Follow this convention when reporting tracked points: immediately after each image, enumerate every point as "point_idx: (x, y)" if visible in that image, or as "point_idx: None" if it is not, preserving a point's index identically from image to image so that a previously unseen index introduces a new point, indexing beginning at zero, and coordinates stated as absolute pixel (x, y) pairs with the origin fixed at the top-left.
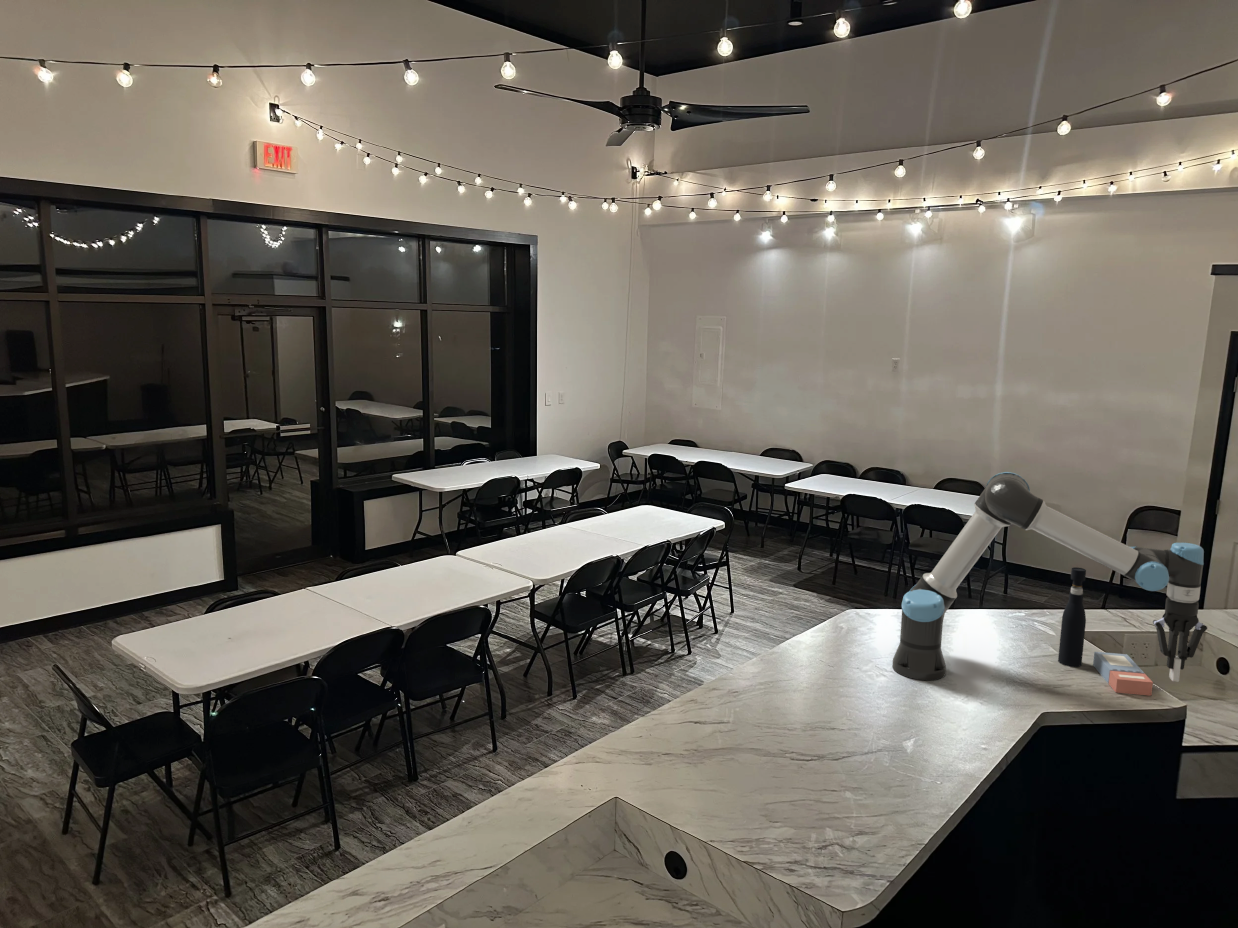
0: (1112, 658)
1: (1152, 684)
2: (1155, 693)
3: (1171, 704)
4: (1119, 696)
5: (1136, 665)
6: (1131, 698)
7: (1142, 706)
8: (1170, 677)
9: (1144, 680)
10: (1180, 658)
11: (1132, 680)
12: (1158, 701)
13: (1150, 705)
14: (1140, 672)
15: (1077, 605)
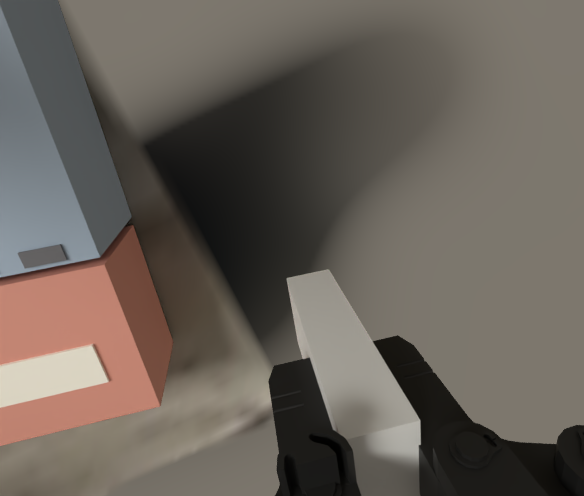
0: None
1: (161, 394)
2: (200, 287)
3: (261, 388)
4: None
5: (12, 63)
6: None
7: (125, 469)
8: (292, 304)
9: (103, 401)
10: (424, 491)
11: (18, 440)
12: (204, 383)
13: (162, 443)
14: (65, 262)
15: None
